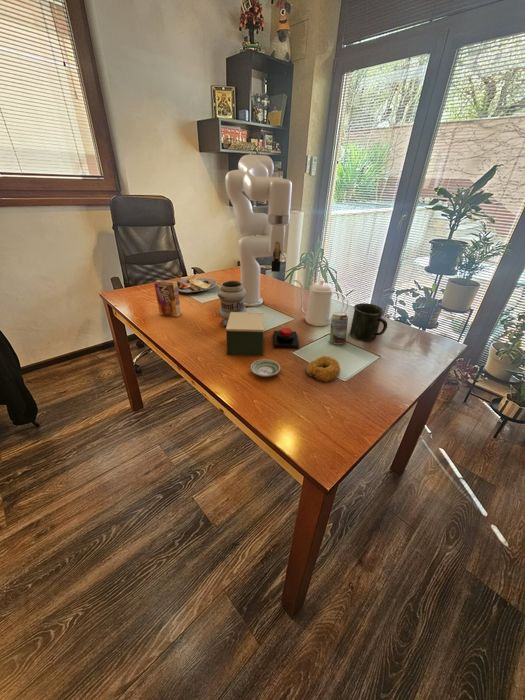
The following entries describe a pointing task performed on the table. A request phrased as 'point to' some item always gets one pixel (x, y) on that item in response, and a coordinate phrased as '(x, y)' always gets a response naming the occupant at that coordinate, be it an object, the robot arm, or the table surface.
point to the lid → (245, 322)
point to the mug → (367, 322)
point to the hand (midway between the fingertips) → (275, 270)
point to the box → (244, 343)
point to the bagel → (324, 368)
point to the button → (286, 332)
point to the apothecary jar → (231, 299)
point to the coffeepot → (319, 303)
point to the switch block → (285, 340)
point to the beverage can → (338, 327)
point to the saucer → (265, 368)
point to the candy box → (167, 298)
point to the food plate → (195, 284)
